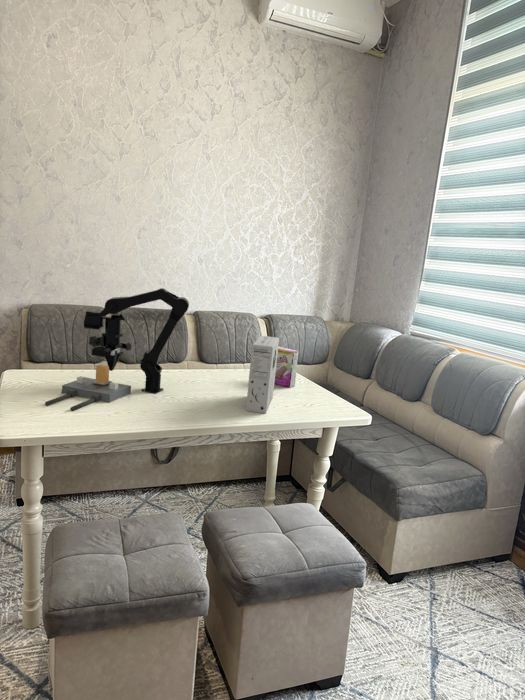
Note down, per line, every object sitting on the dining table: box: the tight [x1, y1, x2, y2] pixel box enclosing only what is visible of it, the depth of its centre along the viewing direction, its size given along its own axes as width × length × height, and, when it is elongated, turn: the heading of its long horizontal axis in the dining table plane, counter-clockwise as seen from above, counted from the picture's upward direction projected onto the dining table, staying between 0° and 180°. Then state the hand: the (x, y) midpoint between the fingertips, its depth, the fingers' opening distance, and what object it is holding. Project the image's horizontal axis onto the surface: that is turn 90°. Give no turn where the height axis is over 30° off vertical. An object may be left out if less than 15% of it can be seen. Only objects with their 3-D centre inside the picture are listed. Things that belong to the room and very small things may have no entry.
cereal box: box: [245, 335, 280, 414], centre depth 194 cm, size 22×8×25 cm, turn 172°
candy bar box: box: [274, 346, 300, 388], centre depth 227 cm, size 11×5×16 cm, turn 58°
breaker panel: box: [61, 375, 132, 404], centre depth 188 cm, size 16×20×5 cm
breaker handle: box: [92, 364, 113, 385], centre depth 191 cm, size 5×5×6 cm
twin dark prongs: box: [44, 393, 96, 412], centre depth 176 cm, size 15×11×1 cm
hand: (111, 370), depth 197 cm, fingers closed
